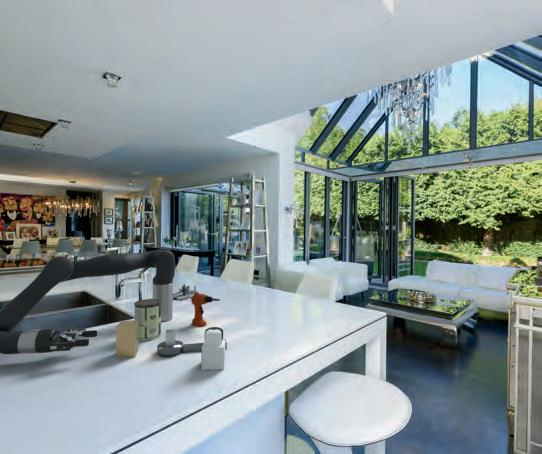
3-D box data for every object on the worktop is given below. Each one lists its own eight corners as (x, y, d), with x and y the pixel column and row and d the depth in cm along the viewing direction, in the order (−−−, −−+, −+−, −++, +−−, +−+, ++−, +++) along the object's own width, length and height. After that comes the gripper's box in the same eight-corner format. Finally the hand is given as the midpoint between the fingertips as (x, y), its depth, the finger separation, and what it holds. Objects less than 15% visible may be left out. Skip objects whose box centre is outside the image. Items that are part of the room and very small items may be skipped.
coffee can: (146, 330, 133) (146, 297, 133) (166, 333, 130) (166, 300, 130) (128, 338, 123) (128, 303, 123) (149, 342, 120) (149, 306, 120)
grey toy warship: (184, 292, 203) (159, 303, 186) (183, 282, 202) (158, 292, 185) (199, 295, 197) (175, 307, 180) (198, 285, 195) (174, 296, 179)
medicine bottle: (204, 360, 105) (204, 325, 105) (225, 360, 105) (225, 324, 105) (201, 370, 98) (201, 332, 98) (223, 369, 98) (224, 332, 98)
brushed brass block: (116, 358, 105) (116, 326, 105) (120, 351, 111) (120, 320, 111) (135, 357, 107) (135, 325, 107) (138, 350, 113) (138, 319, 113)
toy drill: (217, 329, 131) (214, 294, 132) (189, 326, 142) (187, 293, 143) (225, 326, 134) (222, 292, 135) (198, 323, 146) (195, 291, 147)
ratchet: (155, 358, 106) (155, 336, 106) (158, 347, 115) (158, 327, 115) (227, 352, 112) (227, 331, 112) (225, 342, 120) (225, 323, 120)
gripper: (27, 337, 96) (85, 334, 99) (49, 323, 110) (99, 320, 113) (27, 361, 96) (85, 357, 100) (49, 344, 110) (99, 340, 113)
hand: (93, 337), depth 106 cm, fingers open, 8 cm apart
